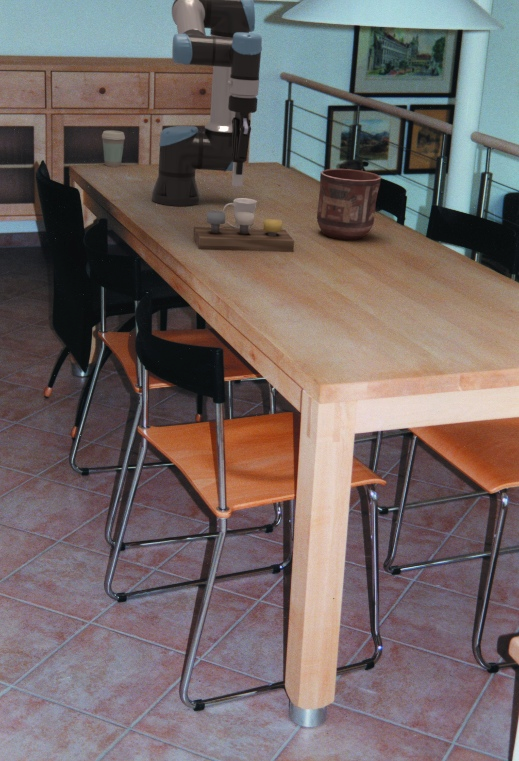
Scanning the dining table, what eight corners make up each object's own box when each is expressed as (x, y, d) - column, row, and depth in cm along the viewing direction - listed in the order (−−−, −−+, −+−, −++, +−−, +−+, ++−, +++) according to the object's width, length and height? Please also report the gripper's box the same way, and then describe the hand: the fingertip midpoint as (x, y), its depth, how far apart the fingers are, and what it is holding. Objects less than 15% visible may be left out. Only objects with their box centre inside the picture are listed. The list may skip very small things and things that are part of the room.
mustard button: (261, 236, 274) (262, 218, 272) (278, 237, 275) (280, 219, 273) (264, 241, 270) (266, 223, 268) (282, 242, 271) (283, 223, 269)
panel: (193, 237, 274) (194, 226, 273) (284, 240, 279) (285, 229, 278) (199, 249, 263) (199, 238, 262) (293, 251, 268) (294, 240, 267)
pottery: (375, 245, 282) (382, 182, 275) (314, 239, 282) (320, 176, 276) (372, 231, 298) (379, 171, 292) (314, 225, 299) (320, 166, 292)
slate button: (204, 229, 270) (205, 210, 268) (222, 229, 271) (223, 211, 269) (207, 233, 266) (208, 215, 264) (225, 234, 267) (226, 215, 265)
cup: (256, 231, 286) (259, 203, 283) (223, 229, 285) (224, 202, 282) (253, 225, 293) (255, 198, 290) (220, 223, 291) (221, 196, 288)
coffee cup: (128, 167, 360) (129, 134, 356) (106, 167, 356) (106, 134, 352) (119, 162, 367) (119, 130, 362) (97, 163, 363) (98, 130, 358)
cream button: (233, 230, 272) (234, 211, 270) (251, 230, 273) (252, 212, 271) (236, 234, 267) (237, 215, 265) (254, 235, 268) (255, 216, 266)
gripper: (224, 91, 260) (218, 180, 270) (234, 98, 249) (228, 190, 258) (252, 93, 262) (245, 181, 271) (263, 99, 251) (255, 191, 260)
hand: (237, 185), depth 265 cm, fingers closed
